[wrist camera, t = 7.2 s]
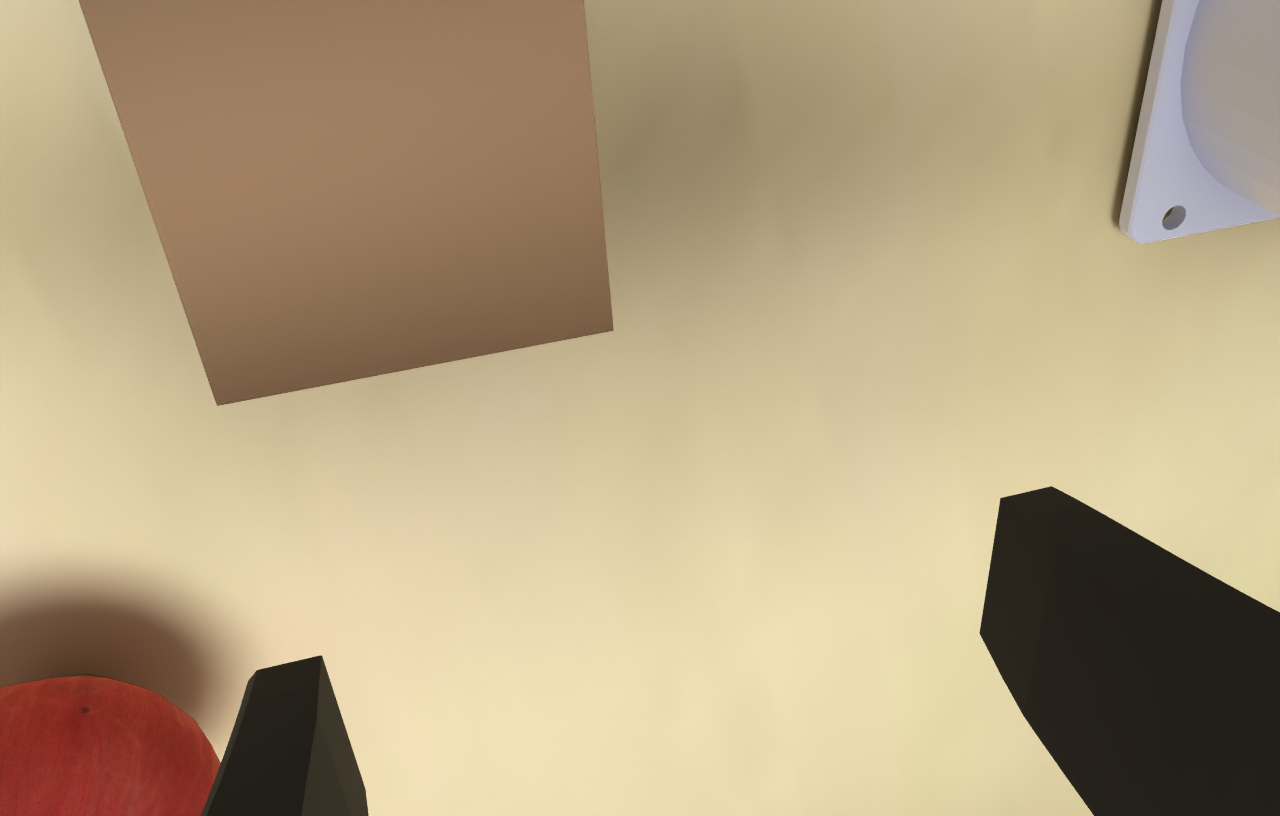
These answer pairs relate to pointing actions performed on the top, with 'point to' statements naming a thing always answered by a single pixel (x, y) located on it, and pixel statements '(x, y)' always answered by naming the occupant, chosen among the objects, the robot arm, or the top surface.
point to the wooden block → (363, 178)
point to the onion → (99, 751)
